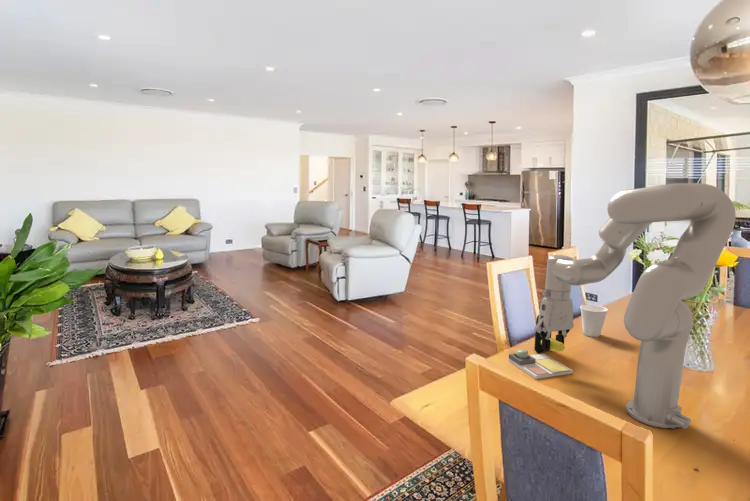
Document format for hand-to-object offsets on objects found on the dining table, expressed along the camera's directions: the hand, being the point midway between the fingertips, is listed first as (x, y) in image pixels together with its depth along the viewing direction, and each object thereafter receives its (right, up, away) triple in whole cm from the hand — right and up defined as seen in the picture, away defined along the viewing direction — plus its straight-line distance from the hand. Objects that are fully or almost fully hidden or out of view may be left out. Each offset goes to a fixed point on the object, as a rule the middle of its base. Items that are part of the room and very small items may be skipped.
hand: (552, 348), depth 139 cm
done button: (-8, -4, +4) cm, 10 cm away
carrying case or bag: (+2, -5, +14) cm, 15 cm away
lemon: (0, -1, 0) cm, 1 cm away
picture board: (-3, -7, +2) cm, 8 cm away
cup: (+29, -2, +32) cm, 43 cm away
